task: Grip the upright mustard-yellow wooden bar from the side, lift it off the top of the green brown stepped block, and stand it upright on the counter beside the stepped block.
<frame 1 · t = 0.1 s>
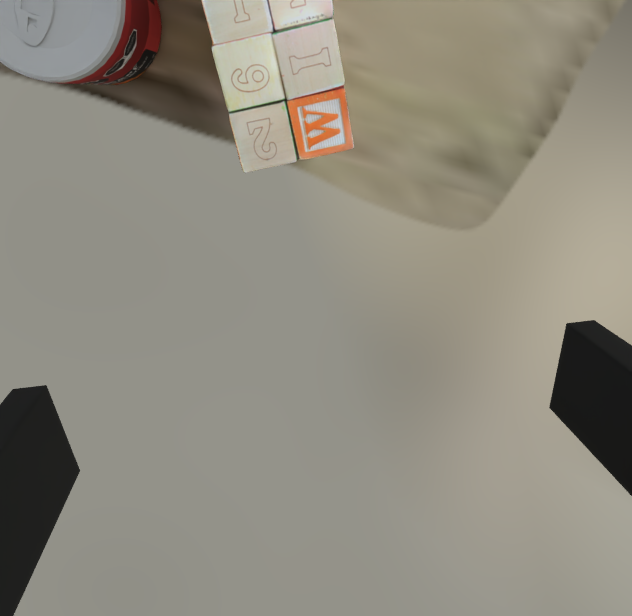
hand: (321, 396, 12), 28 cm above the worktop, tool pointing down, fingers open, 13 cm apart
canned food: (106, 20, 31), on the worktop
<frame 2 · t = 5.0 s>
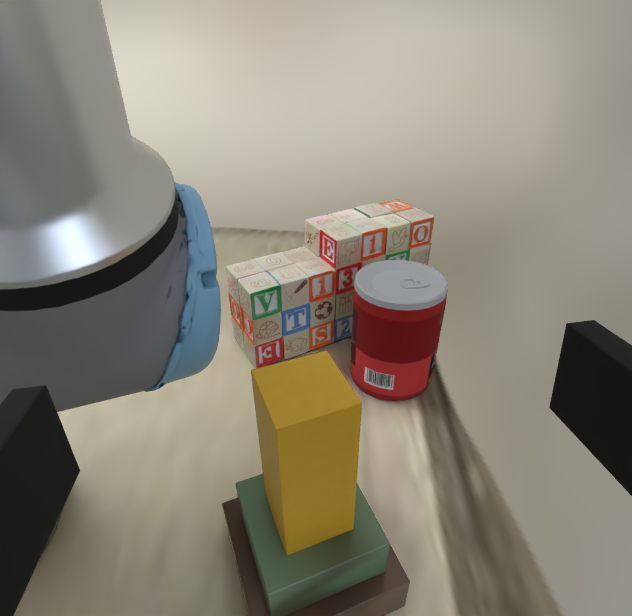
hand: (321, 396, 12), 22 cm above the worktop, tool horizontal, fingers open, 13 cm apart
green brown stepped block: (309, 564, 30), on the worktop
canned food: (390, 376, 45), on the worktop
stack of blocks: (331, 326, 52), on the worktop
bar: (308, 511, 26), point 6 cm above the worktop, touching green brown stepped block
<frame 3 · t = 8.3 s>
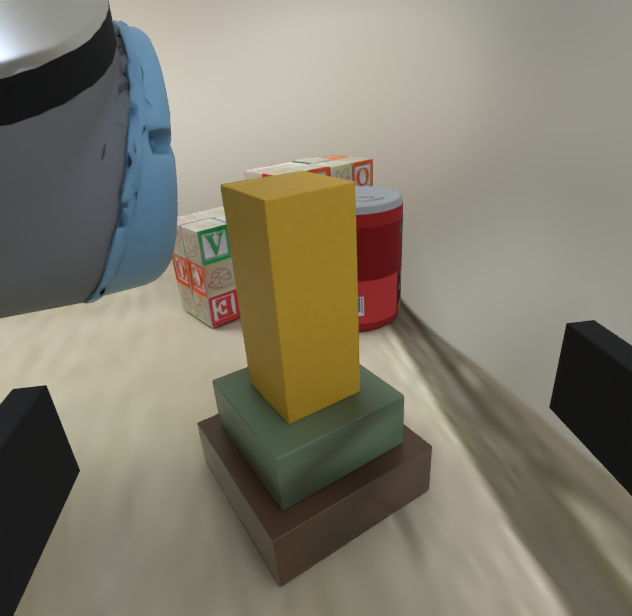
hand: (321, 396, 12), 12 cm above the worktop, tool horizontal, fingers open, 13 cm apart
green brown stepped block: (311, 475, 25), on the worktop
canned food: (357, 315, 43), on the worktop
stack of blocks: (286, 288, 49), on the worktop
bar: (303, 387, 23), point 6 cm above the worktop, touching green brown stepped block
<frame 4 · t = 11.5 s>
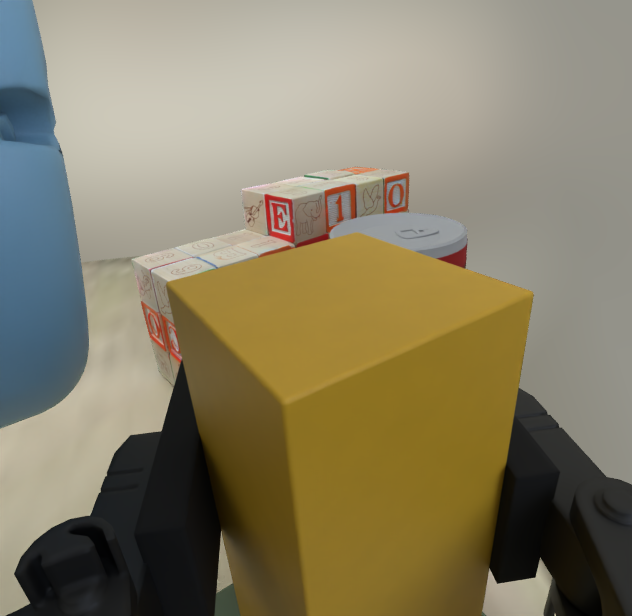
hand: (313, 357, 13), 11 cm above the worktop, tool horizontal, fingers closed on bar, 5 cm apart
canned food: (394, 386, 31), on the worktop
stack of blocks: (295, 339, 38), on the worktop
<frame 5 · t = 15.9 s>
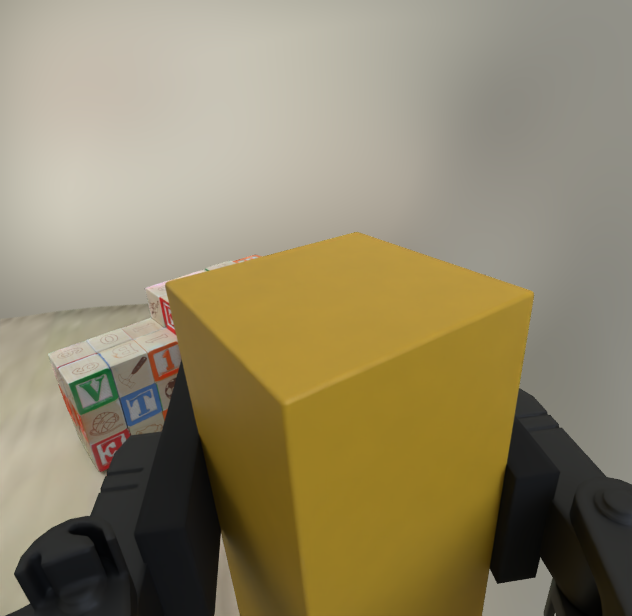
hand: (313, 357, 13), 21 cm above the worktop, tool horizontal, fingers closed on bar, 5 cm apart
stack of blocks: (199, 403, 46), on the worktop
when the fingers open (5 cm above the worktop, at t = 20.2 s): bar stays where it is, on the worktop.
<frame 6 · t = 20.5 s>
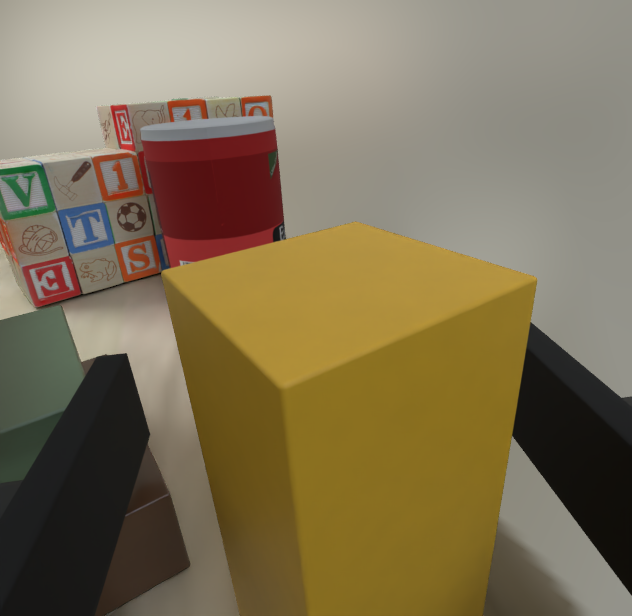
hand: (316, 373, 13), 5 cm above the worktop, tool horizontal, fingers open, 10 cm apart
green brown stepped block: (11, 535, 15), on the worktop
canned food: (234, 291, 32), on the worktop
stack of blocks: (165, 261, 39), on the worktop
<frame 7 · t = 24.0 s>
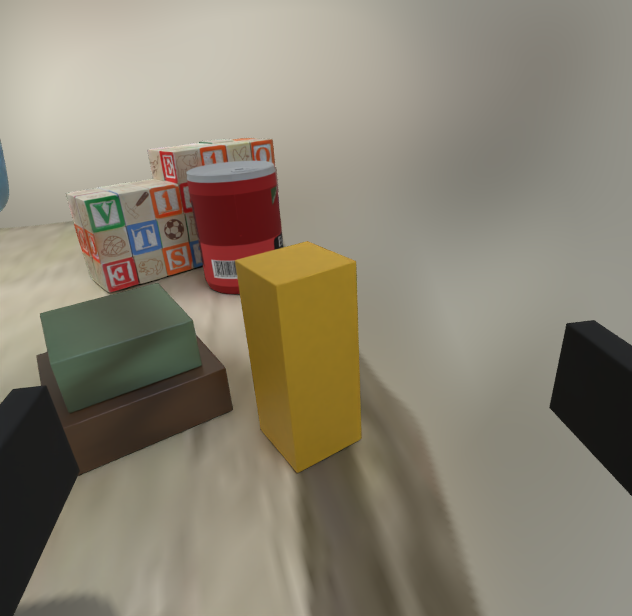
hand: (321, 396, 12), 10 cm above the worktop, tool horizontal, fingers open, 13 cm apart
green brown stepped block: (138, 401, 28), on the worktop
canned food: (246, 281, 46), on the worktop
stack of blocks: (194, 261, 52), on the worktop
bar: (309, 434, 25), on the worktop
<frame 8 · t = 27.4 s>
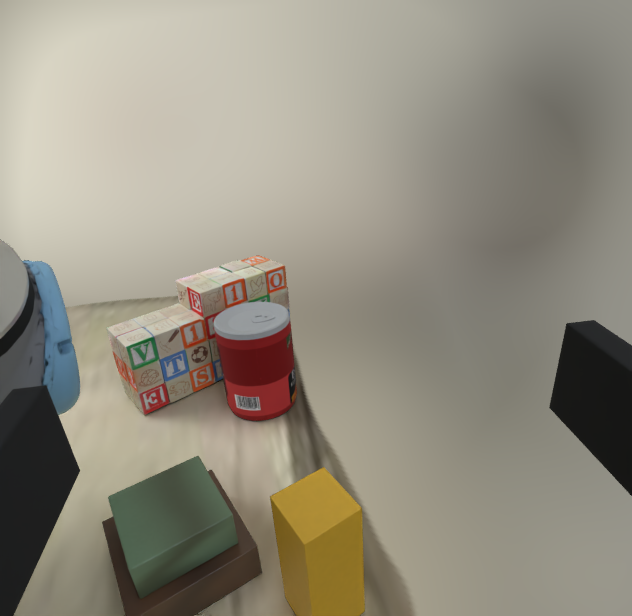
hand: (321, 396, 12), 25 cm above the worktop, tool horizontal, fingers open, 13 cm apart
green brown stepped block: (184, 559, 35), on the worktop
canned food: (263, 402, 52), on the worktop
stack of blocks: (215, 370, 59), on the worktop
bar: (324, 604, 31), on the worktop
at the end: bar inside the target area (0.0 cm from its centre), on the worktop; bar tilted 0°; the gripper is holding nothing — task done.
